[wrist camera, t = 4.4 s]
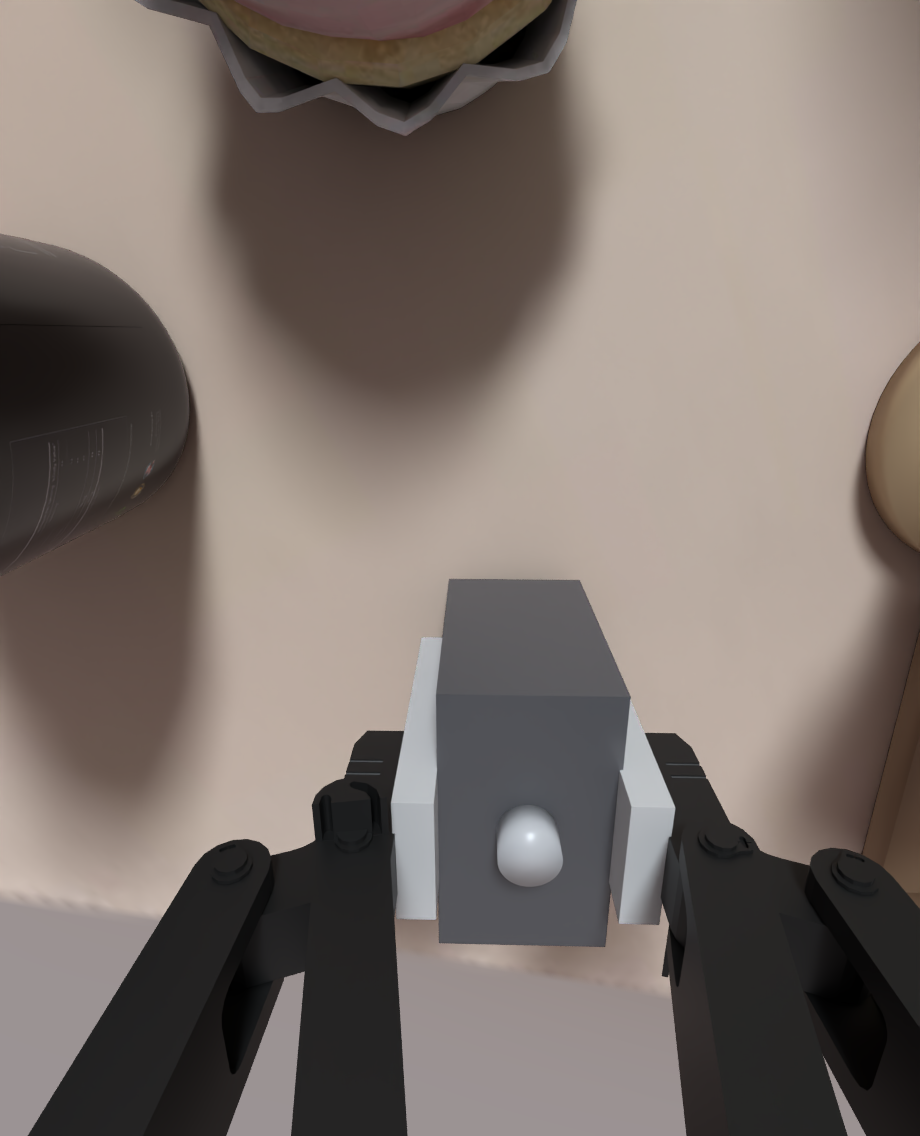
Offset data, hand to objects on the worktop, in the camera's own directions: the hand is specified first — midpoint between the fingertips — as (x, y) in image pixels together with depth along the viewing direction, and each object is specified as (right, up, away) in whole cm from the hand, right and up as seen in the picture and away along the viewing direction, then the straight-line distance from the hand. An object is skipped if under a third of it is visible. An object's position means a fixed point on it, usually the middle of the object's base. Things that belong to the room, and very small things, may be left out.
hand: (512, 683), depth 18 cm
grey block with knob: (0, 0, +1) cm, 1 cm away
